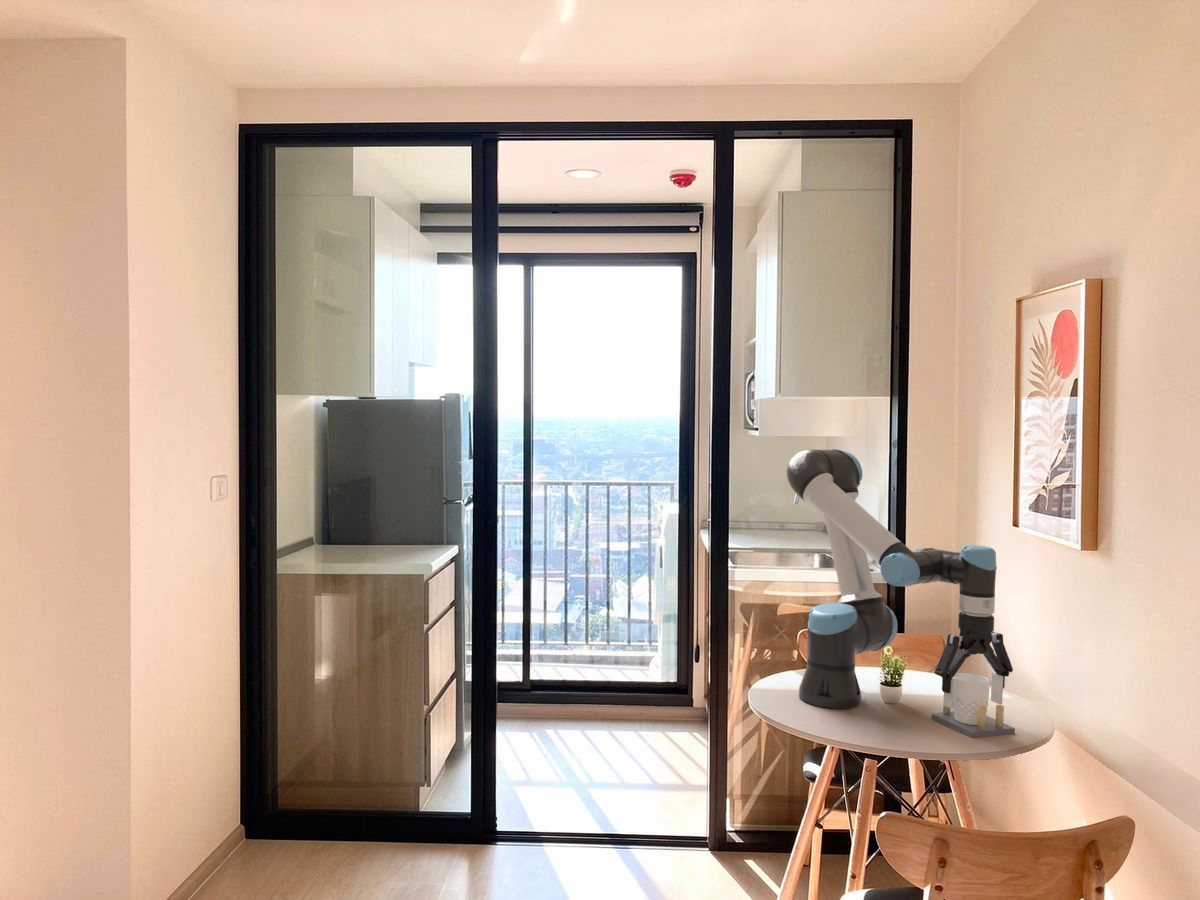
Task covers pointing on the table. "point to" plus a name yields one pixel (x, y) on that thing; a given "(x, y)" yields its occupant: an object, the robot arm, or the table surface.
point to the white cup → (970, 697)
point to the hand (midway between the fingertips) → (972, 704)
